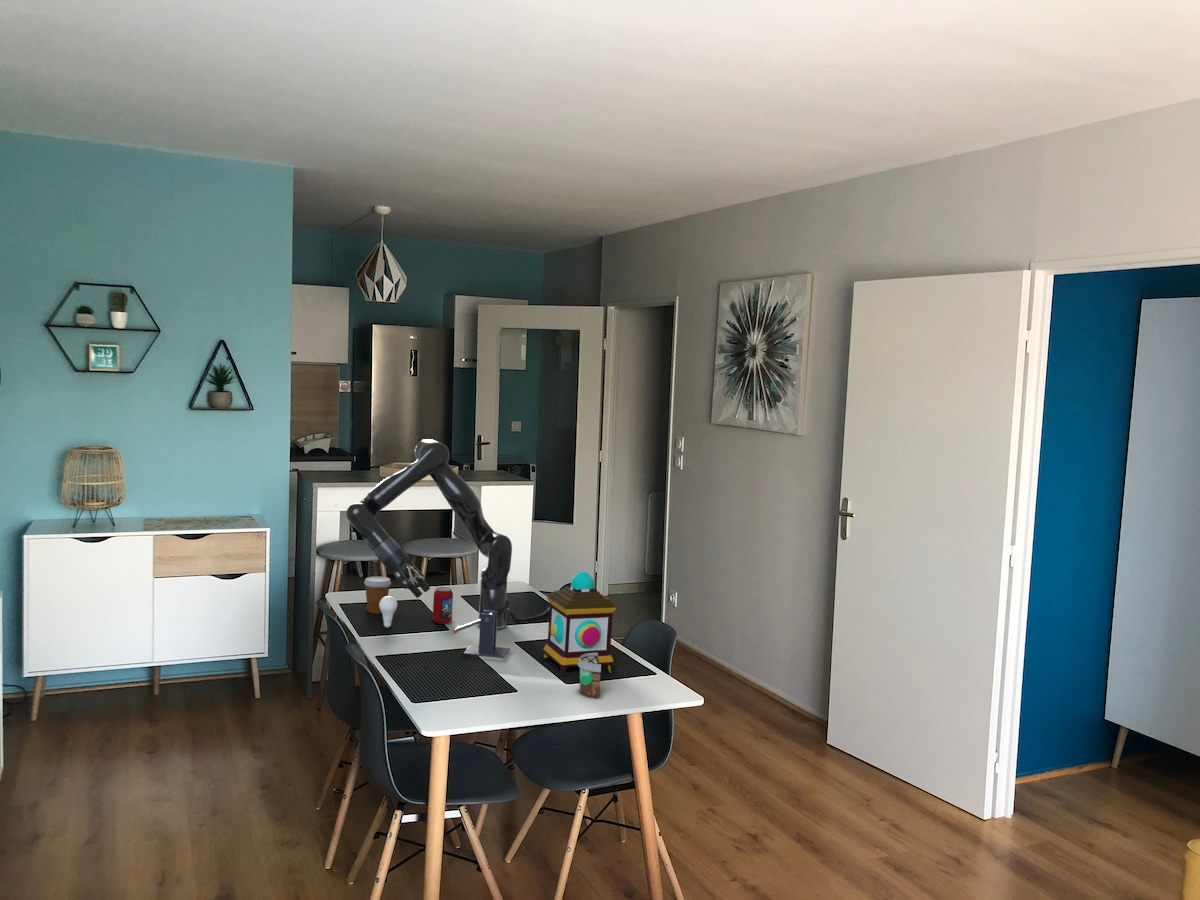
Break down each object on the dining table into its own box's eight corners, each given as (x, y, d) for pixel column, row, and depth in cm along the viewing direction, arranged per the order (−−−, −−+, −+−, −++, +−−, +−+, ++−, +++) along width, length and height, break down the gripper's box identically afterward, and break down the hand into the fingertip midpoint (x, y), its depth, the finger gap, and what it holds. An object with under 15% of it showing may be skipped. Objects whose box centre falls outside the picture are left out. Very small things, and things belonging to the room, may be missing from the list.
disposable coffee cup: (376, 616, 337) (377, 583, 336) (357, 611, 342) (358, 578, 341) (395, 611, 345) (396, 579, 344) (376, 606, 350) (377, 575, 349)
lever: (454, 635, 296) (452, 628, 296) (459, 631, 302) (456, 624, 302) (492, 622, 295) (489, 615, 295) (496, 617, 300) (493, 610, 300)
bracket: (462, 657, 294) (465, 614, 293) (470, 648, 304) (473, 606, 303) (503, 661, 293) (506, 618, 292) (510, 652, 303) (512, 610, 302)
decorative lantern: (536, 658, 298) (542, 565, 296) (594, 655, 306) (599, 564, 304) (559, 678, 280) (564, 579, 277) (619, 674, 287) (625, 577, 285)
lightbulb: (399, 626, 325) (401, 595, 324) (390, 630, 319) (391, 599, 318) (384, 624, 327) (385, 593, 326) (374, 628, 321) (376, 596, 320)
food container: (574, 684, 275) (576, 651, 274) (595, 685, 275) (597, 652, 275) (577, 699, 263) (579, 664, 262) (599, 700, 263) (601, 665, 262)
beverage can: (447, 625, 331) (449, 591, 330) (429, 623, 332) (431, 589, 331) (454, 620, 337) (456, 587, 336) (436, 618, 339) (438, 585, 338)
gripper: (392, 550, 292) (426, 590, 292) (406, 543, 306) (438, 581, 306) (374, 566, 293) (408, 605, 293) (389, 558, 307) (422, 595, 307)
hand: (424, 593), depth 299 cm, fingers open, 8 cm apart
